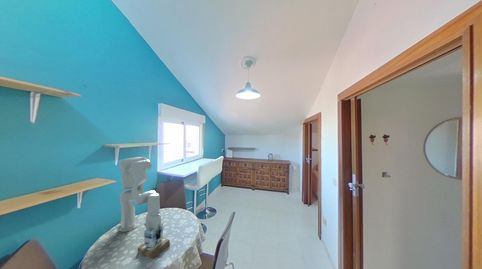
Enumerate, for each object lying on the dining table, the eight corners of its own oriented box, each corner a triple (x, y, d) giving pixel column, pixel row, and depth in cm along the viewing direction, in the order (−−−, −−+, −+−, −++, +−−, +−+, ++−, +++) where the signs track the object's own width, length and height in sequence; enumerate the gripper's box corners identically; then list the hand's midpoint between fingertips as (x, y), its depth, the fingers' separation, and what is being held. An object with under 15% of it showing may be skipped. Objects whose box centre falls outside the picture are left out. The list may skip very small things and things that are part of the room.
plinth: (137, 253, 113) (137, 247, 113) (154, 240, 126) (154, 235, 126) (153, 259, 108) (153, 252, 108) (169, 245, 121) (169, 239, 121)
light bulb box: (152, 247, 111) (152, 231, 111) (143, 246, 112) (143, 230, 112) (163, 237, 122) (163, 222, 121) (155, 236, 123) (155, 221, 122)
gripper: (139, 212, 115) (139, 237, 116) (159, 217, 110) (159, 243, 110) (148, 207, 123) (149, 231, 123) (167, 211, 117) (167, 236, 117)
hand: (153, 237), depth 117 cm, fingers closed on light bulb box, 7 cm apart
